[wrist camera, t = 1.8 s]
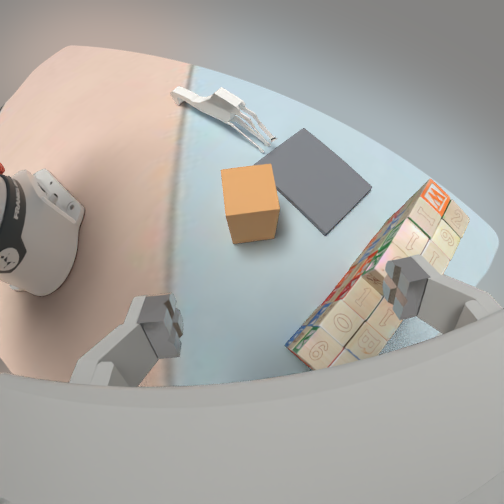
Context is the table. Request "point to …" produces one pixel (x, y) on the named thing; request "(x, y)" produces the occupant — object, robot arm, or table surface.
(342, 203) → the slate mat
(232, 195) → the orange block
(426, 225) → the stack of blocks
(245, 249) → the table surface
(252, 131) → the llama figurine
